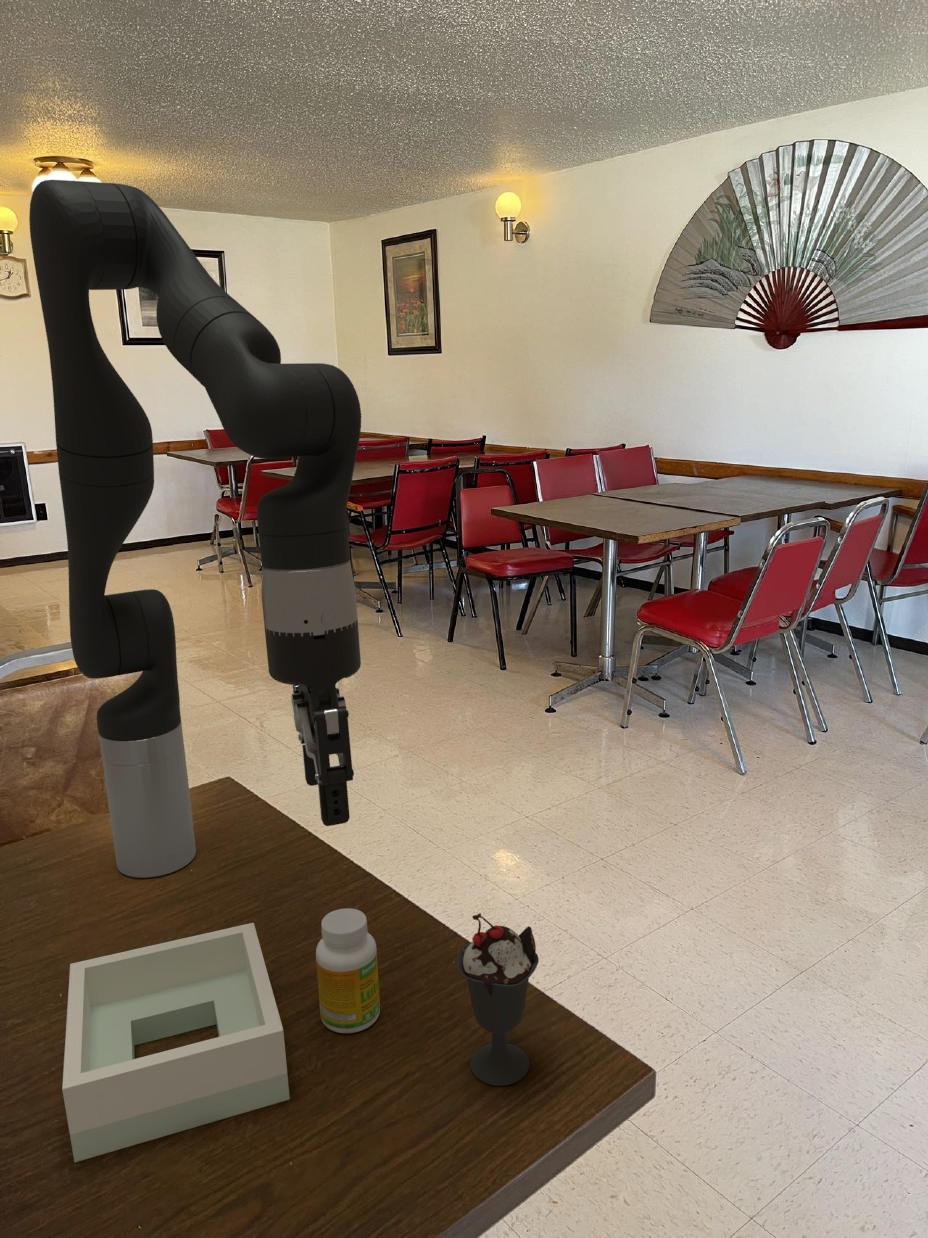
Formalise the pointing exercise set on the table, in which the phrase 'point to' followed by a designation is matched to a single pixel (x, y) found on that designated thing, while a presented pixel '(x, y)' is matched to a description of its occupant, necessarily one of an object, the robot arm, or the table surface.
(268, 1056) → the bore box
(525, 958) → the sundae
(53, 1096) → the table surface
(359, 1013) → the supplement bottle
